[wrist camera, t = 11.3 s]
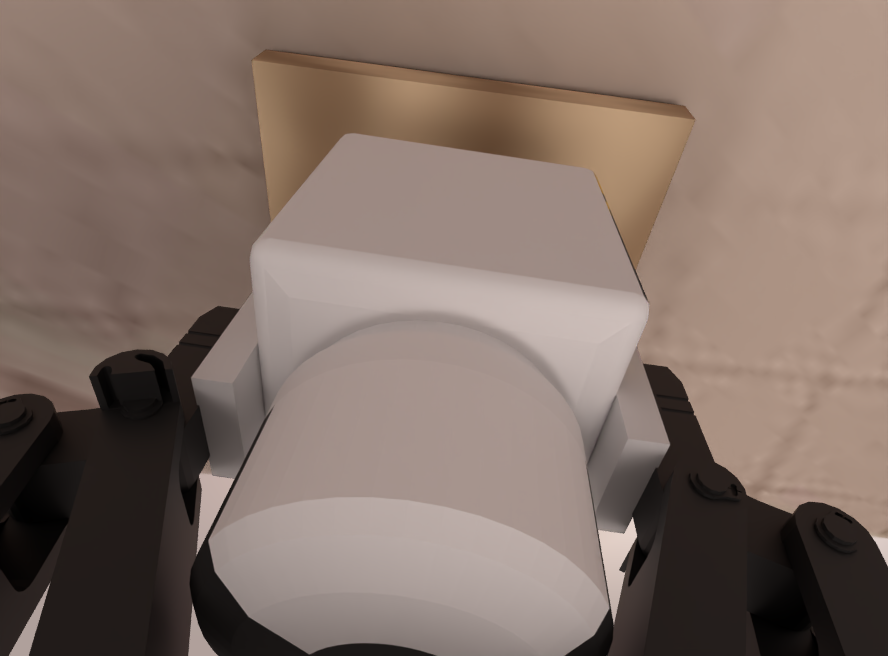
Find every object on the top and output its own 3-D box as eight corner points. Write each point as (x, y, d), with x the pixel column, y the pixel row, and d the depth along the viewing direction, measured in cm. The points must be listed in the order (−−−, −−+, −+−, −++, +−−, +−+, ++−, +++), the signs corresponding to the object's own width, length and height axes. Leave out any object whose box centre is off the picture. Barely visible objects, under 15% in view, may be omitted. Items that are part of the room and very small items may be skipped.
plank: (284, 233, 26) (274, 250, 24) (265, 49, 20) (251, 59, 19) (619, 278, 26) (624, 297, 24) (684, 106, 20) (695, 119, 19)
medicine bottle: (539, 364, 19) (581, 805, 9) (339, 334, 19) (170, 743, 9) (598, 165, 15) (785, 588, 5) (342, 127, 15) (38, 477, 5)
